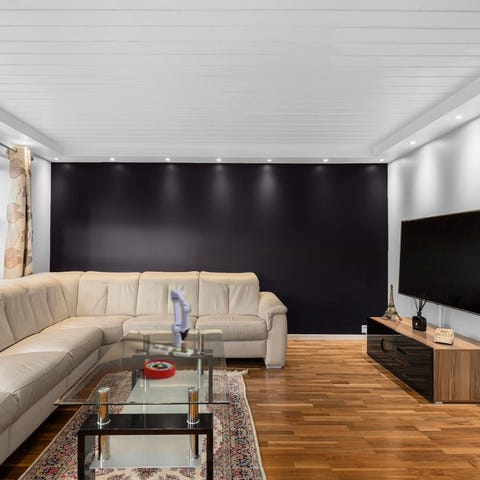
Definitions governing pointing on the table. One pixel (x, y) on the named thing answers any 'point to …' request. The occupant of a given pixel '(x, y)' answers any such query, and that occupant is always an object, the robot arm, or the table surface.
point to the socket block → (160, 349)
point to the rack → (187, 354)
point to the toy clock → (159, 369)
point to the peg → (183, 347)
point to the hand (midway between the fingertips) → (184, 339)
